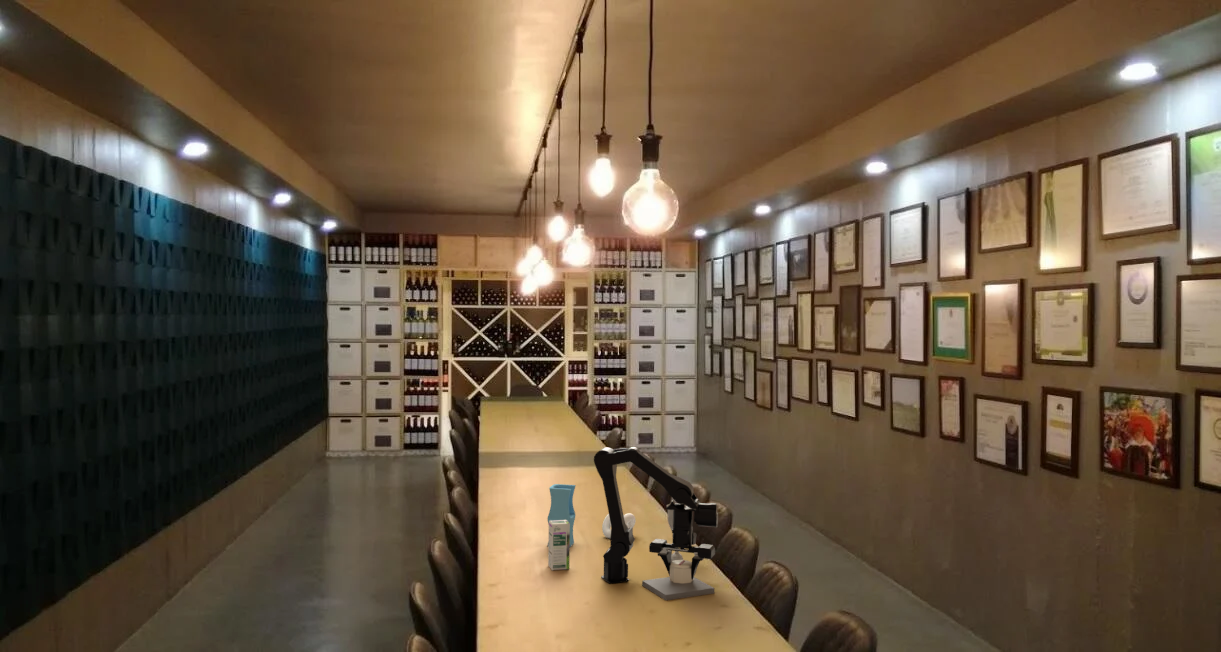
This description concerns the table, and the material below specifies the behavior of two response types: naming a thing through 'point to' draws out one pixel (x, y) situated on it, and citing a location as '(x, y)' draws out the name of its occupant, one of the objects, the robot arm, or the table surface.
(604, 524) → the white rounded lump
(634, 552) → the table surface
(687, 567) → the knob
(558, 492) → the vase
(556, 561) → the syrup box
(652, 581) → the board
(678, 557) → the chalice
